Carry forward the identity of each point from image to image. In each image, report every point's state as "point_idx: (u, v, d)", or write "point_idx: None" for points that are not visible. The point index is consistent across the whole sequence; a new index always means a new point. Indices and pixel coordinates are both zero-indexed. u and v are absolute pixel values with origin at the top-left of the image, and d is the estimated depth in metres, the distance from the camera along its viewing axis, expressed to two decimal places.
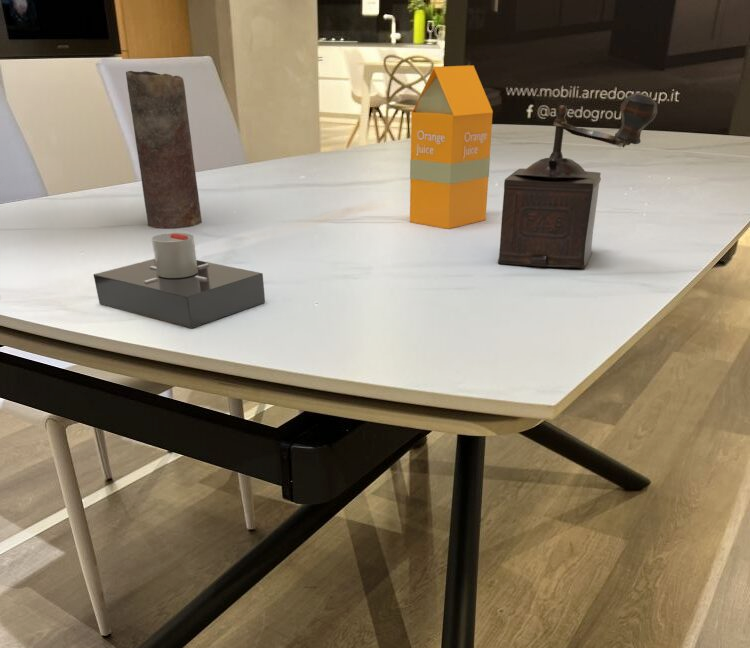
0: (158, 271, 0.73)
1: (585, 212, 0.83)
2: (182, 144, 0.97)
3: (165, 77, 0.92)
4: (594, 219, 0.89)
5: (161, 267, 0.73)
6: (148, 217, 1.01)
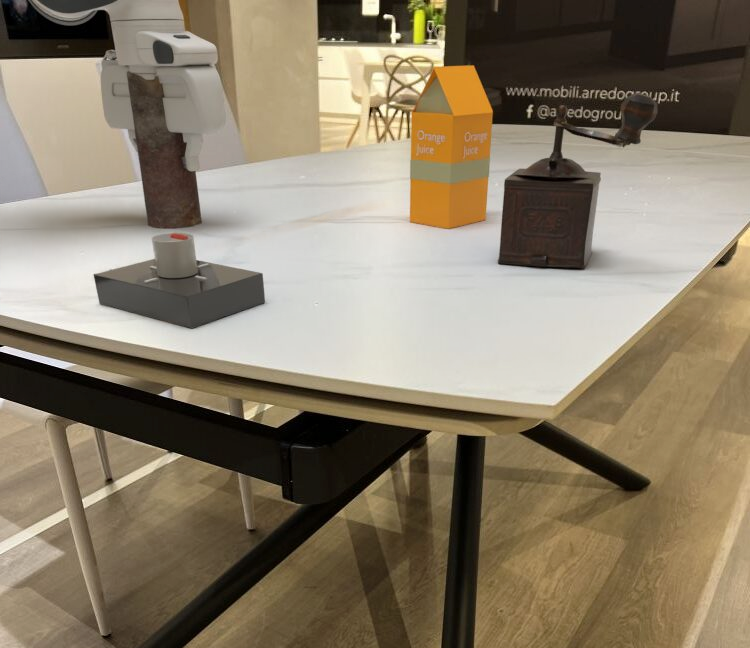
0: (158, 271, 0.73)
1: (585, 212, 0.83)
2: (183, 144, 0.97)
3: None
4: (594, 219, 0.89)
5: (161, 267, 0.73)
6: (148, 217, 1.01)
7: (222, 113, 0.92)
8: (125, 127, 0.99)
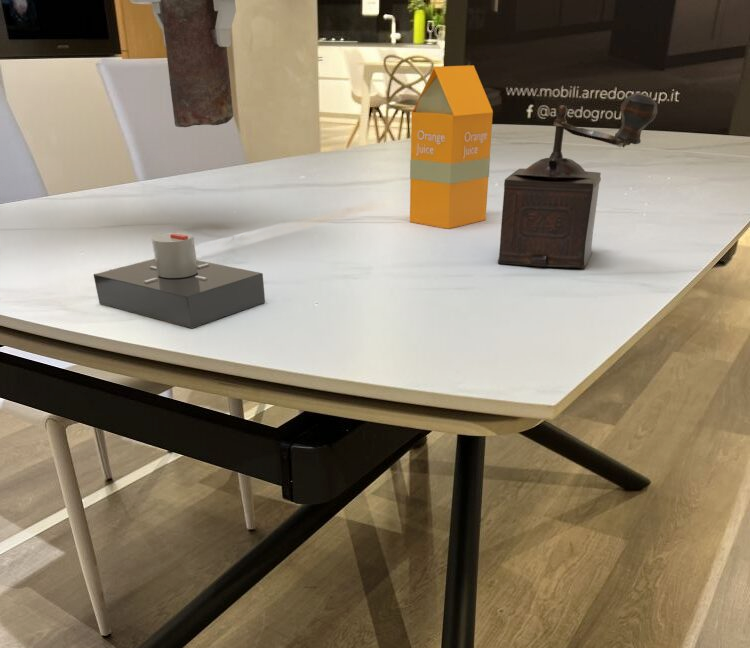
0: (158, 271, 0.73)
1: (585, 212, 0.83)
2: (214, 15, 0.86)
3: None
4: (594, 219, 0.89)
5: (161, 267, 0.73)
6: (174, 102, 0.90)
7: None
8: None
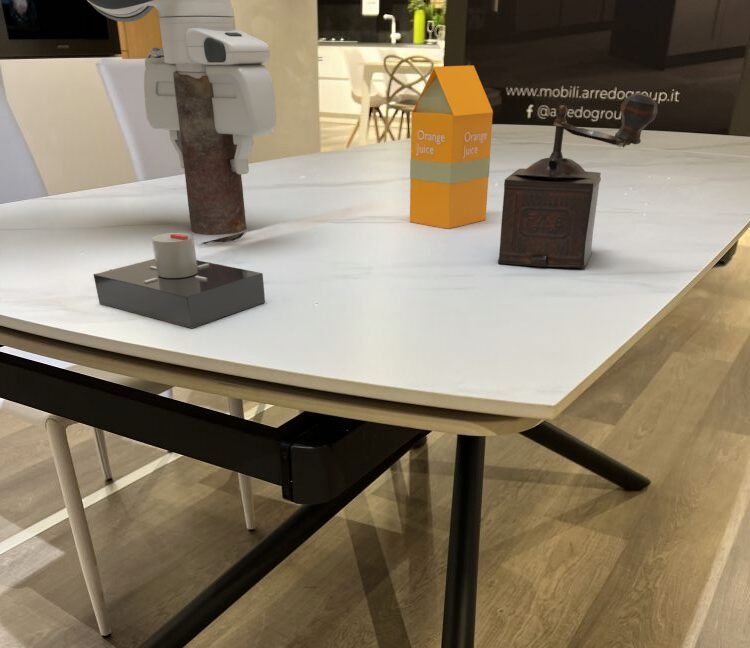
0: (158, 271, 0.73)
1: (585, 212, 0.83)
2: (230, 147, 0.93)
3: None
4: (594, 219, 0.89)
5: (161, 267, 0.73)
6: (192, 222, 0.98)
7: (273, 114, 0.89)
8: (168, 128, 0.96)
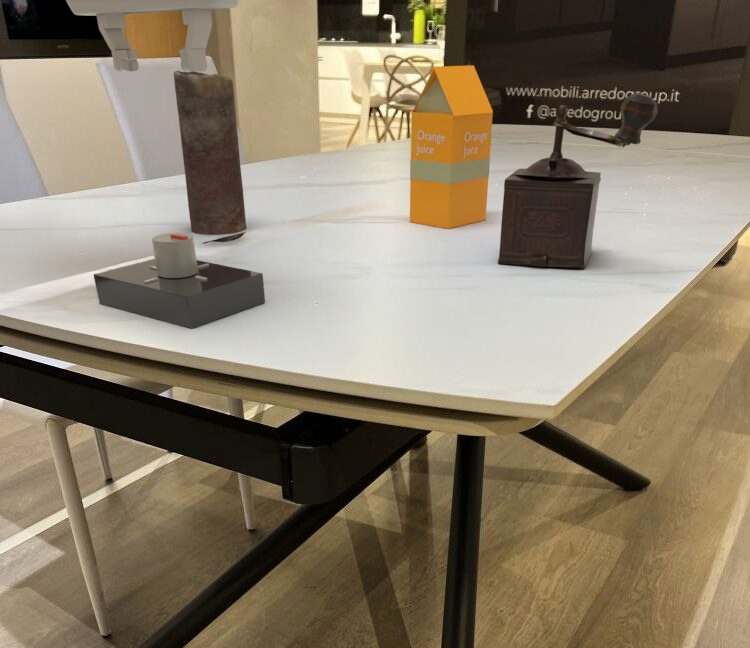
0: (158, 271, 0.73)
1: (585, 212, 0.83)
2: (230, 147, 0.93)
3: (215, 77, 0.89)
4: (594, 219, 0.89)
5: (161, 267, 0.73)
6: (192, 222, 0.98)
7: None
8: (95, 10, 0.68)
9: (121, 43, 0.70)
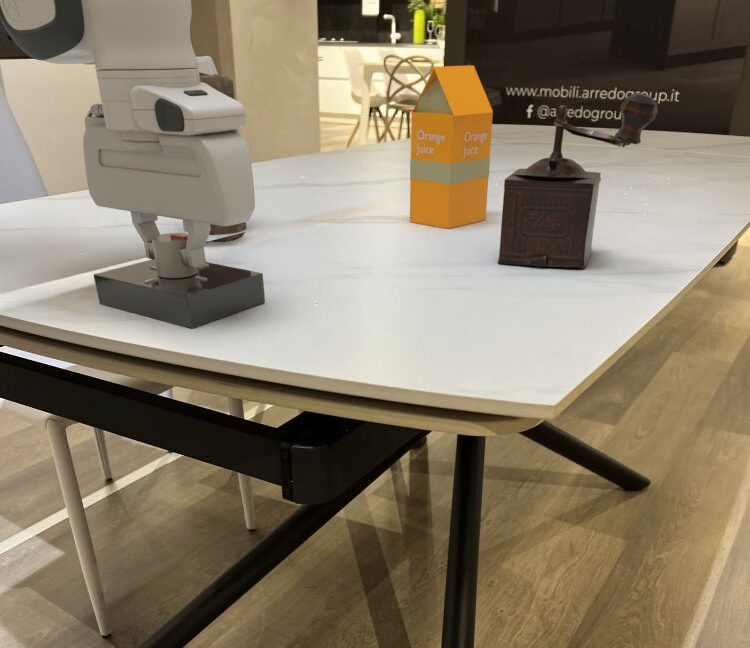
0: (158, 271, 0.73)
1: (585, 212, 0.83)
2: None
3: (216, 78, 0.89)
4: (594, 219, 0.89)
5: (161, 267, 0.73)
6: None
7: (251, 197, 0.66)
8: (116, 207, 0.73)
9: (153, 234, 0.74)
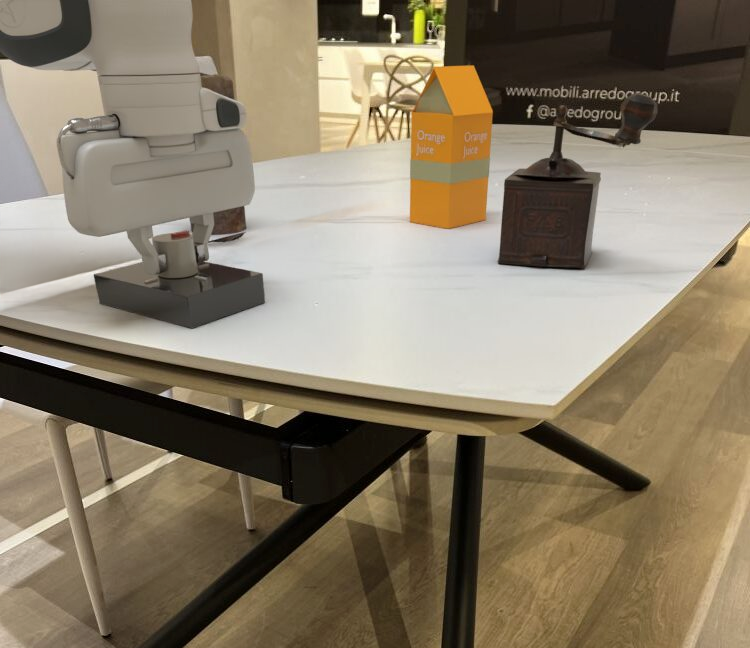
0: (185, 272, 0.73)
1: (585, 212, 0.83)
2: None
3: (215, 78, 0.89)
4: (594, 219, 0.89)
5: (190, 265, 0.73)
6: None
7: None
8: (133, 227, 0.67)
9: None
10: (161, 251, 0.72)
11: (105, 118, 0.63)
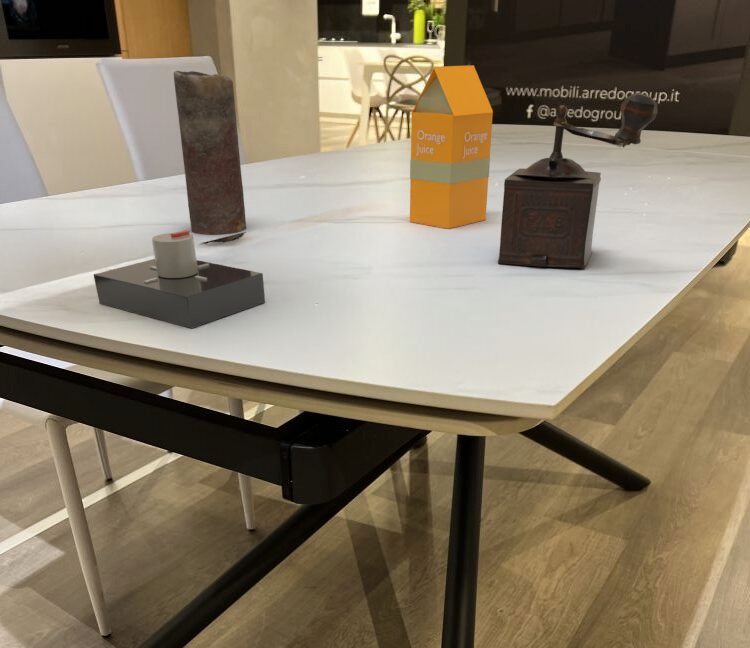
0: (185, 272, 0.73)
1: (585, 212, 0.83)
2: (231, 147, 0.93)
3: (216, 78, 0.89)
4: (594, 219, 0.89)
5: (190, 265, 0.73)
6: (192, 223, 0.97)
7: None
8: None
9: None
10: (161, 251, 0.72)
11: None
